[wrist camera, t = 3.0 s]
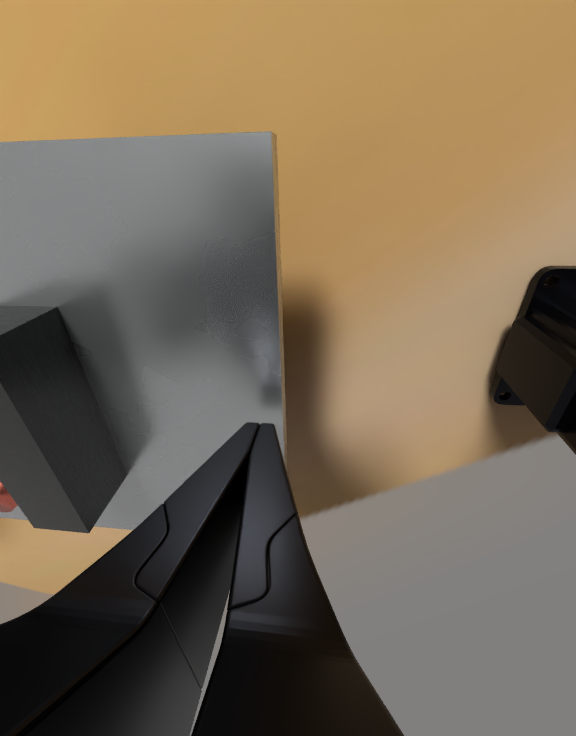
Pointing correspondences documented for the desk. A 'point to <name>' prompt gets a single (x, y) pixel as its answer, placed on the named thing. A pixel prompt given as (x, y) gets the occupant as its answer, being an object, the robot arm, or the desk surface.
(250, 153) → the lid
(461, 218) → the desk surface
